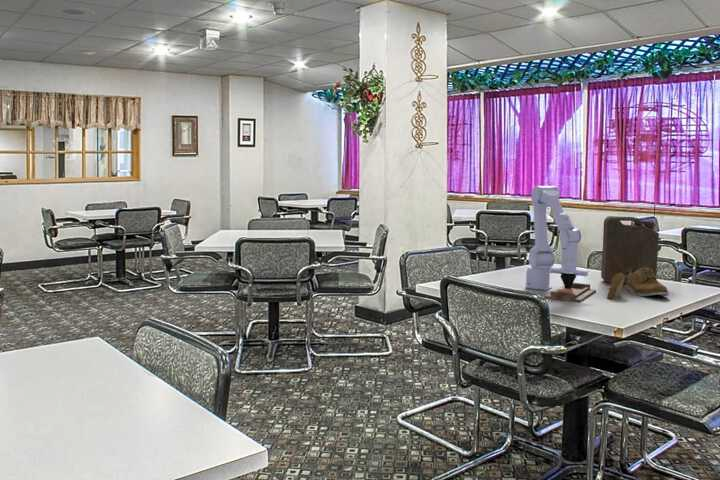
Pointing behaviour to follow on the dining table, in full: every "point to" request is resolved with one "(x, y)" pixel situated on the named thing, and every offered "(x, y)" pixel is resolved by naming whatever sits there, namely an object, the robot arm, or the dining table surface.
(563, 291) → the slider knob
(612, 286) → the rock
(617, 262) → the container
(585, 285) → the slider track
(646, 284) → the oxford shoe
